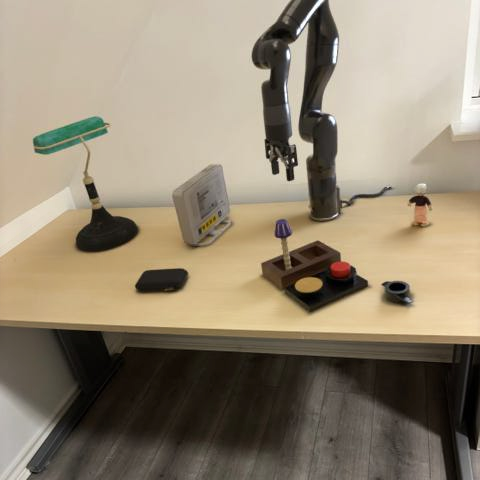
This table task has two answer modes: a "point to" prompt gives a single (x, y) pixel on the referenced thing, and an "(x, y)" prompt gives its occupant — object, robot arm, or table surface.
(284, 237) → the toy lamp
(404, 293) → the black winged round part
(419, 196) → the grandmother figurine
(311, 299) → the switch base
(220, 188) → the network device
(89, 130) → the banker's lamp
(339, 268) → the switch button
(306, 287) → the brass plate
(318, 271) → the rack
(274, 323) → the table surface
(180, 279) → the carrying case
